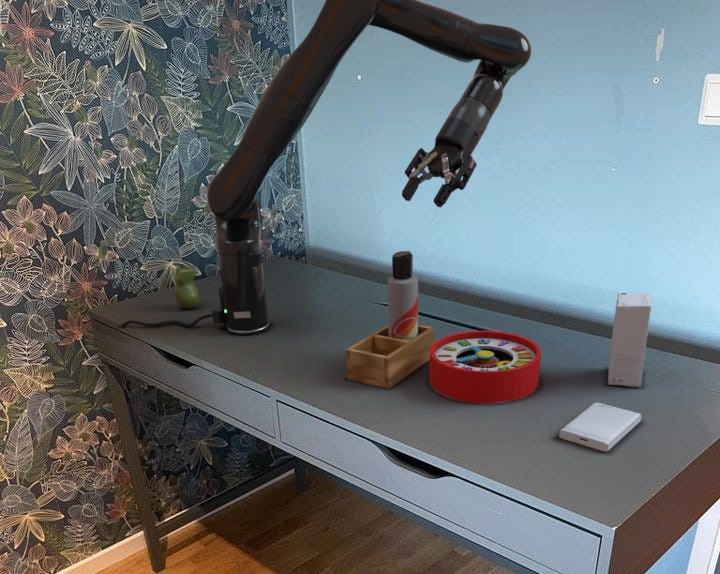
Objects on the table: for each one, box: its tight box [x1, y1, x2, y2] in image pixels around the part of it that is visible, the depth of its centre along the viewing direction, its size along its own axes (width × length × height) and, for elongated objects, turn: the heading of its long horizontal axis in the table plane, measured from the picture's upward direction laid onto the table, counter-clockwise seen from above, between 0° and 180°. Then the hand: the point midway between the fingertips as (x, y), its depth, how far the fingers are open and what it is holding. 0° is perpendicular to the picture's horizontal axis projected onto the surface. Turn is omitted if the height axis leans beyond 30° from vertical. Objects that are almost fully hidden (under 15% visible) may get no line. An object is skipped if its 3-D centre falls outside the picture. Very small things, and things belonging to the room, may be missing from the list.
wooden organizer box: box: [345, 324, 436, 390], centre depth 148 cm, size 9×18×6 cm, turn 147°
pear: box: [174, 265, 200, 310], centre depth 183 cm, size 6×5×10 cm
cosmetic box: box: [607, 292, 652, 388], centre depth 138 cm, size 8×6×15 cm
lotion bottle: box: [387, 250, 419, 341], centre depth 147 cm, size 6×6×20 cm
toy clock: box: [429, 330, 542, 405], centre depth 141 cm, size 20×6×20 cm
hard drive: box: [558, 402, 642, 453], centre depth 124 cm, size 2×8×12 cm
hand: (420, 201), depth 148 cm, fingers open, 8 cm apart
